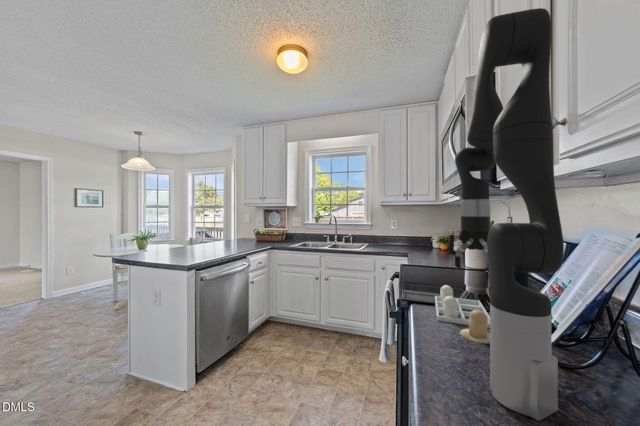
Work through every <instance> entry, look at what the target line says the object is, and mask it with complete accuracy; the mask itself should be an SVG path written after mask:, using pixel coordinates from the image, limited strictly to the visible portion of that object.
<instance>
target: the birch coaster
mask: <svg viewBox="0 0 640 426" xmlns="http://www.w3.org/2000/svg"><path fill="white" fill-rule="evenodd" d="M459 333H460V335H461V337H463V338H465V339H467V340H469V341H472V342H476V343H479V344H490V332H488V331H487V339H477V338H474V337H472V336H470V335H469V328H463V329H461V330H460V331H459Z"/></svg>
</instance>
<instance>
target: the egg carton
mask: <svg viewBox="0 0 640 426" xmlns="http://www.w3.org/2000/svg"><path fill="white" fill-rule="evenodd" d="M454 298H455V299H456V301H457V304H458V318H452V317H445V316H443V315H440V314H443V302H440V295H434V304H435V305H434V306H435V314H436V320H437V321H438V322H446V323H452V324H459V325H466V326H469V319H467V318H469V314H470V312H471V311H473V310H480V311H482V312H484V313H485V315H486V317H487V329H490V314H489V313H488V312H487V310H486V308H485V307H484V305H483V303H482V302H481V301H480V300H477V299H476V300H475V299H467V298H460V297H459V298H458V297H457V298H456V297H454ZM463 310H466V311H463ZM459 316H460V318H459ZM466 317H467V318H466Z"/></svg>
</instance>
